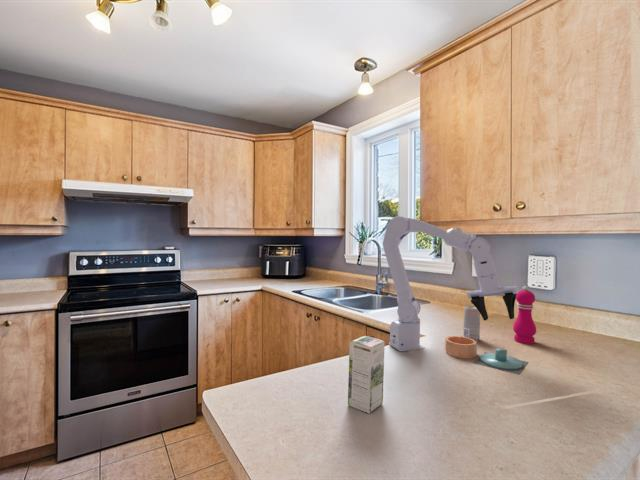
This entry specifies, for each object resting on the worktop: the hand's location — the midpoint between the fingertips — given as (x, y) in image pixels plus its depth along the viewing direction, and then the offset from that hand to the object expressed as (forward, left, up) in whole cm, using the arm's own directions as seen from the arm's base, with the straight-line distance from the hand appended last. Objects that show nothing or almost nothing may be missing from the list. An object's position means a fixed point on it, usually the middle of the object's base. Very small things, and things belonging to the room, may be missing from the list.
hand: (498, 318), depth 104 cm
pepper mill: (+24, +12, -13) cm, 29 cm away
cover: (-2, -3, -12) cm, 13 cm away
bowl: (-8, +7, -12) cm, 16 cm away
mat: (-2, -3, -12) cm, 13 cm away
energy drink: (+6, +18, -13) cm, 23 cm away
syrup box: (-51, -14, -13) cm, 55 cm away
